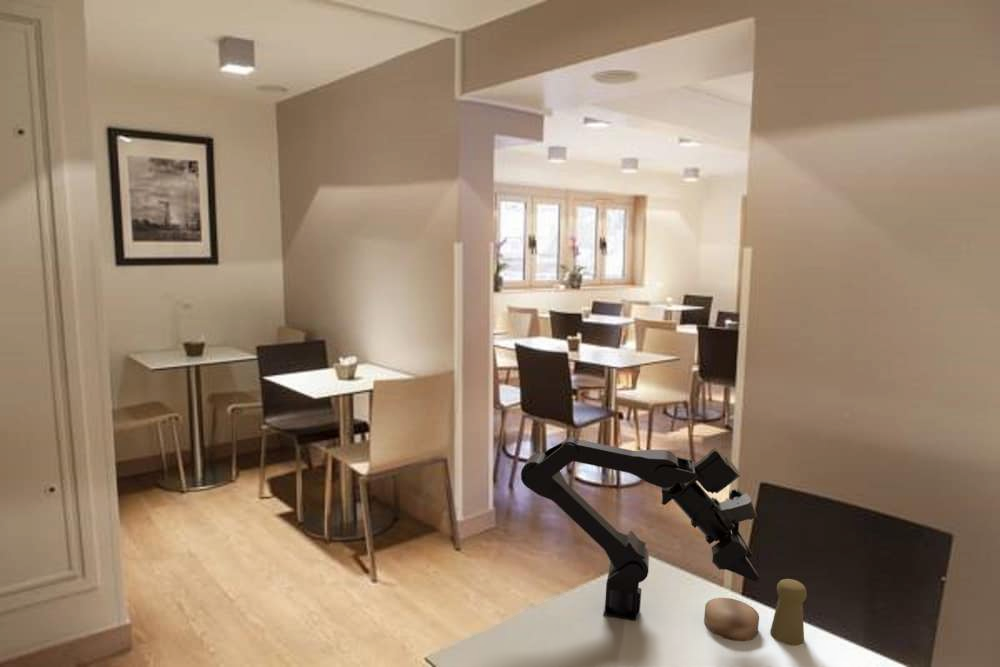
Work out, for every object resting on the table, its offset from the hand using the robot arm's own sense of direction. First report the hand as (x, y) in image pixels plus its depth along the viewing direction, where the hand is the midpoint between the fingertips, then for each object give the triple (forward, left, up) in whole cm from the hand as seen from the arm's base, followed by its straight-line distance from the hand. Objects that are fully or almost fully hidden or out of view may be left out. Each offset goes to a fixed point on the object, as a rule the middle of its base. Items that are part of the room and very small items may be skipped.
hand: (754, 568), depth 126 cm
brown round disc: (-3, 0, -13) cm, 13 cm away
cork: (+7, 0, -13) cm, 15 cm away
